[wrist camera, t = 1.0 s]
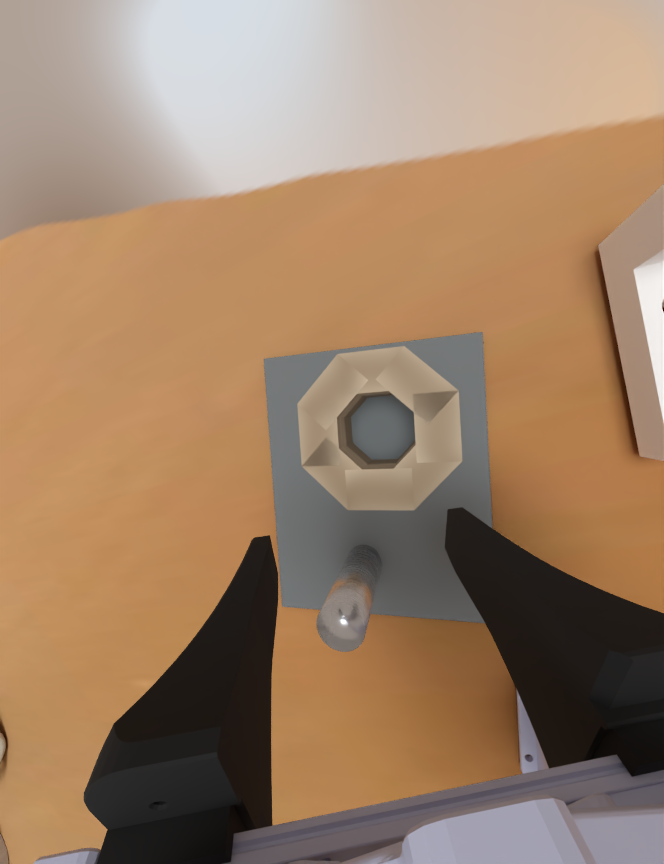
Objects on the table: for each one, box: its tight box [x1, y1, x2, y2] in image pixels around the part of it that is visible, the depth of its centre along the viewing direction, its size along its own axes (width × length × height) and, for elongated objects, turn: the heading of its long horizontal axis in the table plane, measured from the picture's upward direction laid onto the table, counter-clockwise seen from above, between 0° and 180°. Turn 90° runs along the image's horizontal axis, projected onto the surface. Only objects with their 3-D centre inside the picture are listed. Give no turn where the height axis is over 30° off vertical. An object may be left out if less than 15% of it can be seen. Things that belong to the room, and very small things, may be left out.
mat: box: [264, 332, 492, 623], centre depth 25 cm, size 20×16×1 cm
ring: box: [297, 346, 462, 510], centre depth 22 cm, size 10×10×4 cm
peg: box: [317, 545, 382, 652], centre depth 21 cm, size 3×3×8 cm
